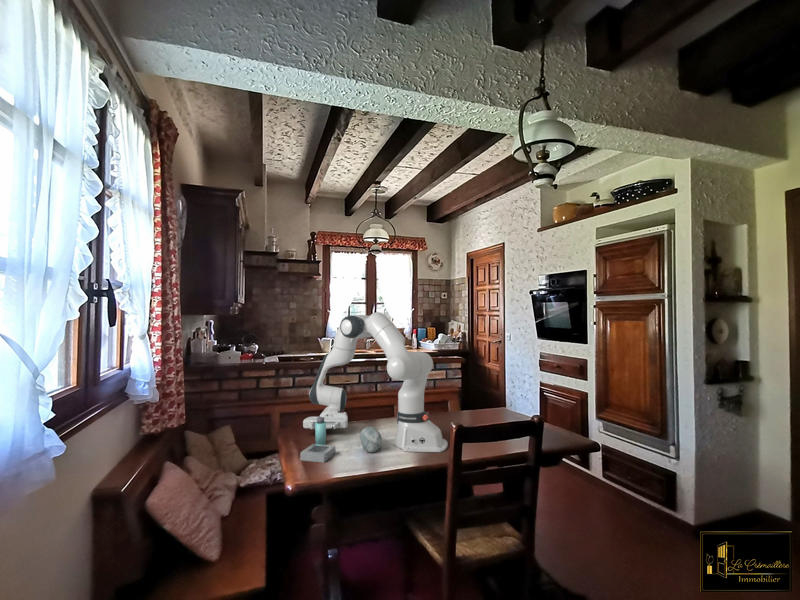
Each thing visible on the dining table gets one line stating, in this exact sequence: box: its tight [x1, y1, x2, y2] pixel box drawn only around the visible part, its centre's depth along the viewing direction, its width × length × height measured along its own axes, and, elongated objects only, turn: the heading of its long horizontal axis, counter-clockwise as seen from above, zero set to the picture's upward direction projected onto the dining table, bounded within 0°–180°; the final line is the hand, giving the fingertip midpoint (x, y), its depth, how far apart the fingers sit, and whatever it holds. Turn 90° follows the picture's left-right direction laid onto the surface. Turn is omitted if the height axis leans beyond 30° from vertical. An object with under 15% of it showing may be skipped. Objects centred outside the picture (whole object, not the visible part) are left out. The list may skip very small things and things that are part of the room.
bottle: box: [314, 416, 327, 445], centre depth 169 cm, size 4×4×11 cm
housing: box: [299, 443, 336, 463], centre depth 153 cm, size 10×10×3 cm
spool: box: [359, 426, 383, 453], centre depth 163 cm, size 14×10×10 cm
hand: (322, 427), depth 172 cm, fingers open, 8 cm apart
